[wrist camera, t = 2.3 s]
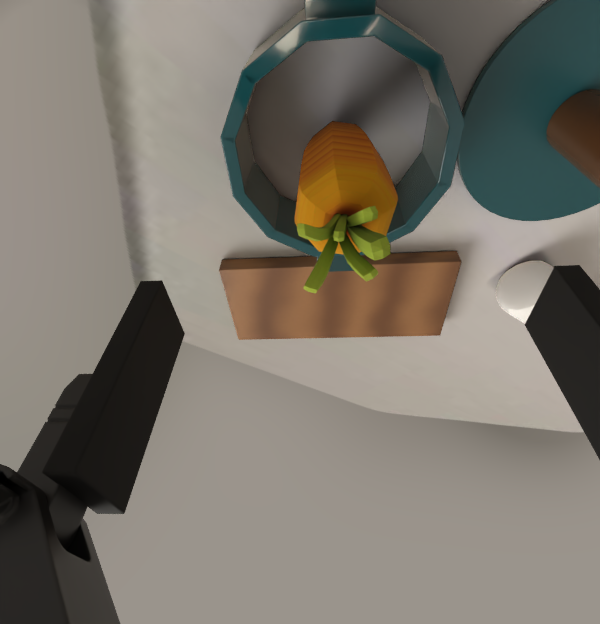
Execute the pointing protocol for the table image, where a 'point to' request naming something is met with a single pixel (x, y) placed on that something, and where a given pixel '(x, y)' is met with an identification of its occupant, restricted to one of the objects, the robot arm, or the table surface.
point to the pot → (420, 177)
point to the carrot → (344, 201)
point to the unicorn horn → (522, 288)
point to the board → (340, 297)
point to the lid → (538, 117)
